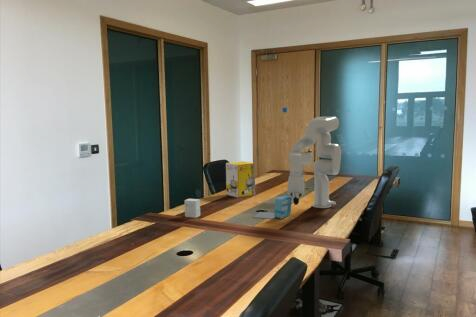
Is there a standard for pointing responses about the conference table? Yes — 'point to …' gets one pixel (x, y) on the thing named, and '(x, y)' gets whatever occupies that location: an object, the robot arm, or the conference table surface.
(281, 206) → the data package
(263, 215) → the felt pad
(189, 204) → the small box
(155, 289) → the conference table surface
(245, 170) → the packaging box
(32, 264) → the conference table surface
